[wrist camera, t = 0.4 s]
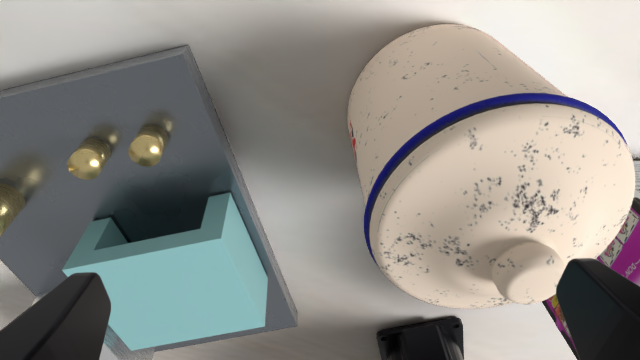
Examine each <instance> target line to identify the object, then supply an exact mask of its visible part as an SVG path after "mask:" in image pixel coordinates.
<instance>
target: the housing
mask: <svg viewBox="0 0 640 360" xmlns="http://www.w3.org/2000/svg"><path fill="white" fill-rule="evenodd" d="M62 271H63V272H64V273H65V274H66V276H67V277H69V276H70V275H72V274H74V273H85V272H94V273H97V274H98V275H100V277H101V279H102V282H103V284H104V286H105V289H106V291H107V293H108V296H109V298H110V301H111V313H110V318H109V322H108V324H109V326H110V327H111V328H112V329H113V330H114V331H115V333H116V334H117V335H118V336H119V337H120V338H121V340H122V341H123V342H124V343H125V344H126V345H127V347H128V348H129V349H130V350H131V351H132V350H138V349H143V348H149V347H154V346H160V345H165V344H171V343H176V342H182V341H187V340H193V339H199V338H204V337H210V336H215V335H221V334H226V333H232V332H237V331H243V330H248V329H254V328H259V327H265V316H266V300H267V285H268V277H267V275H266V273H265V271H264V268H263V266H262V264H261V261H260V259H259V257H258V255H257V252H256V250H255V248H254V245H253V243H252V241H251V239H250V236H249V234H248V232H247V230H246V227H245V225H244V223H243V220H242V218H241V216H240V214H239V211H238V209H237V207H236V204H235V202H234V200H233V198H232V195H231V193H226V194H221V195H216V196H211V197H209V198H208V202H207V205H206V209H205V213H204V217H203V221H202V224H201V228H200V229H196V230H191V231H187V232H182V233H177V234H172V235H167V236H162V237H157V238H152V239H147V240H142V241H137V242H132V243H128V242H127V240H126V239H125V238H124V236H123V235H122V233H121V232H120V230H119V229H118V227H117V226H116V224H115V223H114V221H113V220H112V218H106V219H102V220H97V221H92V222H90V223H89V225H88V227H87V229H86V230H85V232H84V234H83V235H82V237H81V239H80V240H79V242H78V244H77V245H76V247H75V249H74V251H73V252H72V254H71V256H70V257H69V259H68V261H67V262H66V264H65V266H64V268H63V269H62Z"/></svg>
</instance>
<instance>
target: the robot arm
mask: <svg viewBox="0 0 640 360" xmlns="http://www.w3.org/2000/svg"><path fill="white" fill-rule="evenodd" d="M556 296H557V300H558V303H559V306H560V308H561V311H562V314H563V316H564V319H565V322H566V324H567V327H568V330H569V333H570V335H571V338H572V341H573V343H574V346H575V349H576V351H577V354H578V357H579V359H580V360H640V286H638V285H637V284H635V283H634V282H632V281H630V280H629V279H627V278H626V277H624V276H622V275H621V274H619V273H617V272H616V271H614V270H613V269H611V268H609V267H608V266H606V265H605V264H603V263H601V262H600V261H598V260H596V259H593V258H575V259H572V260H570V261H569V262H568V264H567V266H566V268H565V270H564V272H563V274H562V276H561V278H560V280H559V282H558V284H557V287H556ZM110 313H111V301H110V298H109V296H108V293H107V291H106V289H105V286H104V284H103V282H102V279H101V277H100V275H98V274H97V273H94V272H85V273H74V274H72V275H70V276H69V277H67V278H66V279H65V280H64V281H62V282H61V283H60V284H59V285H57V286H56V287H55V288H54V289H52V290H51V291H50V292H48V293H47V294H46V295H45V296H43V297H42V298H41V299H40V300H38V301H37V302H36V303H35V304H33V305H32V306H31V307H30V308H28V309H27V310H26V311H25V312H23V313H22V314H21V315H20V316H18V317H17V318H16V319H14V320H13V321H12V322H11V323H9V324H8V325H7V326H6V327H4V328H3V329H2V330H1V331H0V360H99V358H100V354H101V350H102V346H103V342H104V338H105V334H106V330H107V326H108V322H109V318H110ZM377 340H378V345H379V349H380V353H381V357H382V360H464V349H463V325H462V322H461V319H459V318H451V319H445V320H439V321H434V322H428V323H422V324H417V325H411V326H405V327H399V328H394V329H388V330H382V331H379V332H378V333H377Z"/></svg>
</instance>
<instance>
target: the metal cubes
mask: <svg viewBox="0 0 640 360" xmlns="http://www.w3.org/2000/svg"><path fill="white" fill-rule="evenodd" d="M226 193H231V195H232V198H233V200H234V202H235V204H236V207H237V209H238V211H239V214H240V216H241V218H242V220H243V223H244V225H245V227H246V230H247V232H248V234H249V236H250V239H251V241H252V243H253V245H254V248H255V250H256V252H257V255H258V257H259V259H260V261H261V264H262V266H263V268H264V271H265V273H266V275H267V277H268V285H267V300H266V316H265V327H259V328H254V329H248V330H243V331H237V332H232V333H226V334H221V335H215V336H210V337H204V338H199V339H193V340H187V341H182V342H176V343H171V344H165V345H160V346H156V348H155V351H154V352H156V351H162V350H167V349H173V348H178V347H184V346H189V345H195V344H201V343H206V342H212V341H217V340H223V339H229V338H234V337H240V336H245V335H251V334H256V333H262V332H268V331H273V330H279V329H284V328H290V327H295V326H297V311H296V308H295V306H294V303H293V301H292V298H291V296H290V293H289V291H288V288H287V286H286V284H285V281H284V279H283V276H282V274H281V271H280V269H279V266H278V264H277V261H276V259H275V256H274V254H273V252H272V249H271V247H270V244H269V242H268V239H267V237H266V234H265V232H264V229H263V227H262V224H261V222H260V220H259V217H258V215H257V212H256V210H255V207H254V205H253V202H252V200H251V197H250V195H249V192H248V190H247V188H246V185H245V183H244V180H243V178H242V175H241V173H240V170H239V168H238V165H237V163H236V160H235V158H234V156H233V153H232V151H231V148H230V146H229V143H228V141H227V138H226V136H225V133H224V131H223V128H222V126H221V124H220V121H219V119H218V116H217V114H216V111H215V109H214V106H213V104H212V101H211V99H210V96H209V94H208V91H207V89H206V87H205V84H204V82H203V79H202V77H201V74H200V72H199V69H198V67H197V64H196V62H195V59H194V57H193V55H192V52H191V50H190V47H189V45H186V46H182V47H178V48H174V49H170V50H166V51H162V52H158V53H153V54H149V55H145V56H141V57H137V58H133V59H129V60H125V61H121V62H116V63H112V64H108V65H104V66H100V67H96V68H92V69H88V70H83V71H79V72H75V73H71V74H67V75H63V76H59V77H55V78H51V79H46V80H42V81H38V82H34V83H30V84H26V85H22V86H18V87H14V88H9V89H5V90H1V91H0V259H1V260H2V261H3V262H4V264H5V265H6V266H7V267H8V268H9V269H10V270H11V271H12V272H13V273H14V274H15V275H16V276H17V277H18V278H19V279H20V280H21V281H22V282H23V283H24V284H25V285H26V286H27V287H28V288H29V289H30V290H31V292H32V293H33V294H34V295H35V296H36V297H37V295H38V294H43V293H48V292H50V291H51V290H52V289H54V288H55V287H56V286H57V285H59V284H60V283H61V282H62V281H64V280H65V279H66V278H67V276H66V274H65V273H64V272H63V271H62V269H63V268H64V266H65V264H66V262H67V261H68V259H69V257H70V256H71V254H72V252H73V251H74V249H75V247H76V245H77V244H78V242H79V240H80V239H81V237H82V235H83V234H84V232H85V230H86V229H87V227H88V225H89V223H90V222H92V221H97V220H102V219H106V218H112V220H113V221H114V223H115V224H116V226H117V227H118V229H119V230H120V232H121V233H122V235H123V236H124V238H125V239H126V240H127V242H128V243H132V242H137V241H142V240H147V239H152V238H157V237H162V236H167V235H172V234H177V233H182V232H187V231H191V230H196V229H200V228H201V224H202V221H203V217H204V213H205V209H206V205H207V202H208V198H209V197H211V196H216V195H221V194H226Z"/></svg>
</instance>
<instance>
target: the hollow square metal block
mask: <svg viewBox="0 0 640 360" xmlns="http://www.w3.org/2000/svg"><path fill="white" fill-rule="evenodd" d="M46 294H47V293H43V294H38V295H37V297H36V298H35V300H34V301H33V303H32V305H33V304H35V303H36V302H37V301H38V300H40V299H41V298H42V297H43V296H45V295H46ZM32 305H31V306H32ZM31 306H30V307H31ZM155 348H156V346H154V347H149V348H143V349H138V350H132V351H131V350H130V349H129V348H128V347H127V345H126V344H125V343H124V342H123V341H122V340H121V338H120V337H119V336H118V335H117V334H116V333H115V331H114V330H113V329H112V328H111V327H110V326H109V324H108V326H107V330H106V334H105V338H104V342H103V346H102V350H101V354H100V358H99V360H152V358H153V355H154V351H155Z"/></svg>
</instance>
